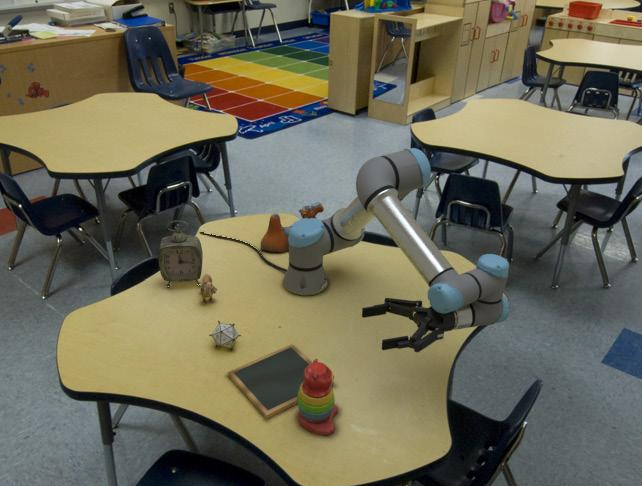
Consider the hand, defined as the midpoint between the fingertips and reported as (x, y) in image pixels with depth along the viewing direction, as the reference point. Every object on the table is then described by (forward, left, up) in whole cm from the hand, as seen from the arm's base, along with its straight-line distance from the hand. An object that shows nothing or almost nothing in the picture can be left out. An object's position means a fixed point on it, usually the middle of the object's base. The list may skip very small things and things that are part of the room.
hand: (371, 328), depth 147 cm
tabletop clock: (-78, -17, -22) cm, 83 cm away
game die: (-39, -22, -22) cm, 50 cm away
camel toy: (-78, +30, -22) cm, 87 cm away
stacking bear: (0, -17, -22) cm, 28 cm away
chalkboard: (-17, -17, -22) cm, 32 cm away
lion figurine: (-65, -14, -22) cm, 70 cm away
